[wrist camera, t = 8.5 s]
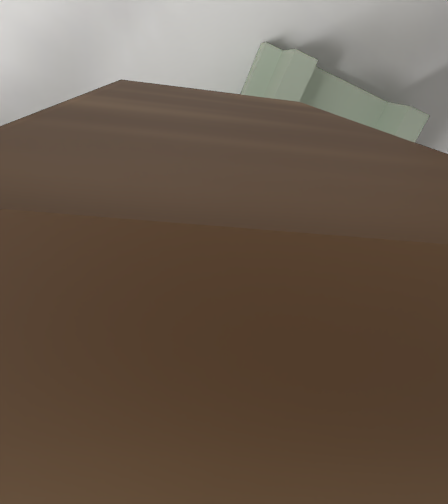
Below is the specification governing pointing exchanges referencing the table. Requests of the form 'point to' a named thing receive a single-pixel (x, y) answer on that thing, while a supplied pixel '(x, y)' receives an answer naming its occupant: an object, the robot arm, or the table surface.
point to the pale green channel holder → (327, 92)
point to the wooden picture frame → (220, 304)
